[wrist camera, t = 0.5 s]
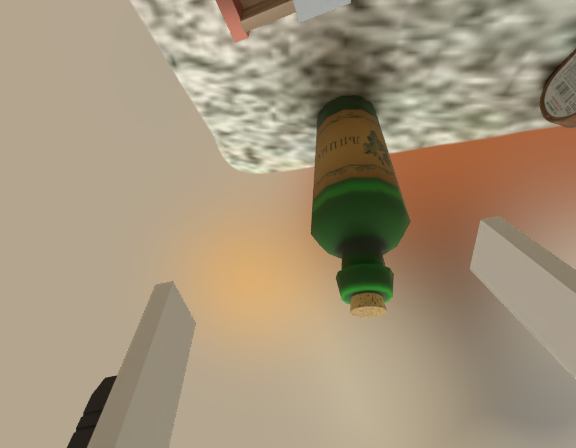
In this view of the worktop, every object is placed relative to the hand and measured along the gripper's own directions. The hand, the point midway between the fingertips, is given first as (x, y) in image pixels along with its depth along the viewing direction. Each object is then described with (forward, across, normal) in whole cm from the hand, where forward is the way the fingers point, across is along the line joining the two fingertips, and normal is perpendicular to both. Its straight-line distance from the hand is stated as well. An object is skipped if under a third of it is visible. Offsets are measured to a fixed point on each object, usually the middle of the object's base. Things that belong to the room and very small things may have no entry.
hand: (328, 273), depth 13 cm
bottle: (+34, +10, -3) cm, 35 cm away
